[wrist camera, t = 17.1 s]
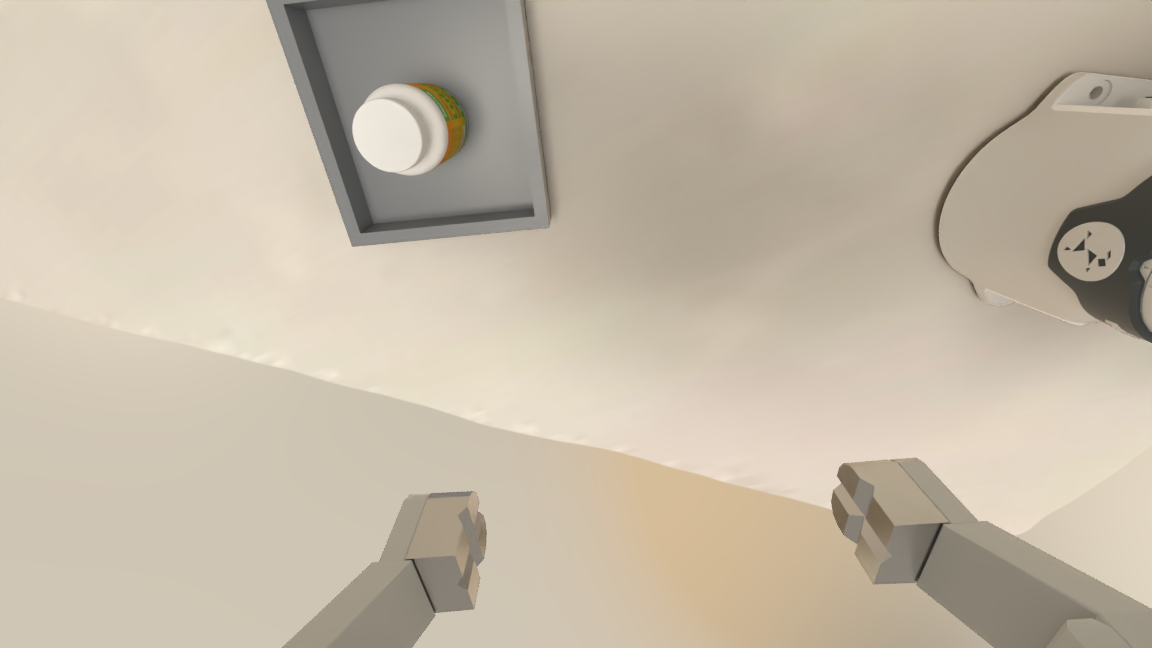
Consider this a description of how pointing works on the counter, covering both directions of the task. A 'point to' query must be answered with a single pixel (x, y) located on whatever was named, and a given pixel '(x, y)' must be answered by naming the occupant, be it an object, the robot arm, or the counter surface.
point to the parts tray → (435, 56)
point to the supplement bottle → (410, 127)
